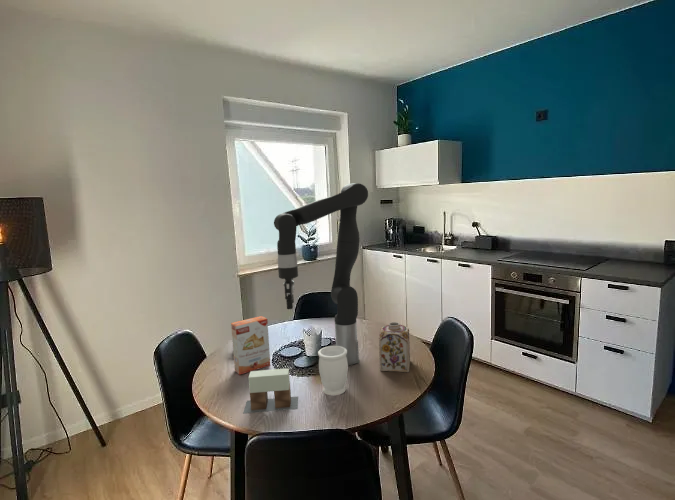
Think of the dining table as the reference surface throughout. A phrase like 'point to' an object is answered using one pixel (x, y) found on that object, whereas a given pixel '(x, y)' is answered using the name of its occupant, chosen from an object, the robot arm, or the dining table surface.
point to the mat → (271, 406)
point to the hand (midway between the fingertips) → (290, 305)
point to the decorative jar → (394, 348)
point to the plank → (269, 380)
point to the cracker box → (250, 344)
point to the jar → (333, 369)
